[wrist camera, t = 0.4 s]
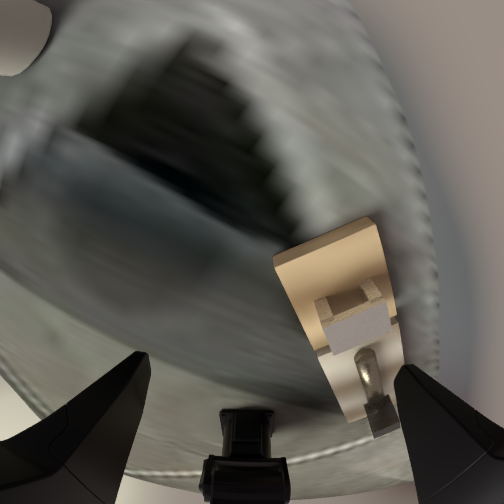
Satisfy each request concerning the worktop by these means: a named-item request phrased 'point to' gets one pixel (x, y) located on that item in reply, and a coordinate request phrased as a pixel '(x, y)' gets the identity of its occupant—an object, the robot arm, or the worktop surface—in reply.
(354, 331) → the keeper
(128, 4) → the worktop surface
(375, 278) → the door jamb
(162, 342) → the worktop surface
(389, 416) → the bolt
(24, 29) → the can
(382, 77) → the worktop surface
